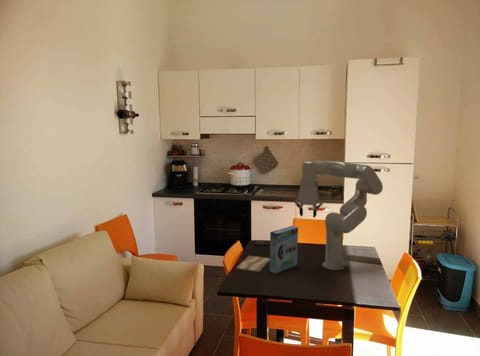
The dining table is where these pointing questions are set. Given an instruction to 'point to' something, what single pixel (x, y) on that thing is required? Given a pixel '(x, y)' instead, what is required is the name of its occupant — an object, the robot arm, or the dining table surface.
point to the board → (253, 263)
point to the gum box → (283, 249)
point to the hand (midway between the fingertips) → (307, 216)
